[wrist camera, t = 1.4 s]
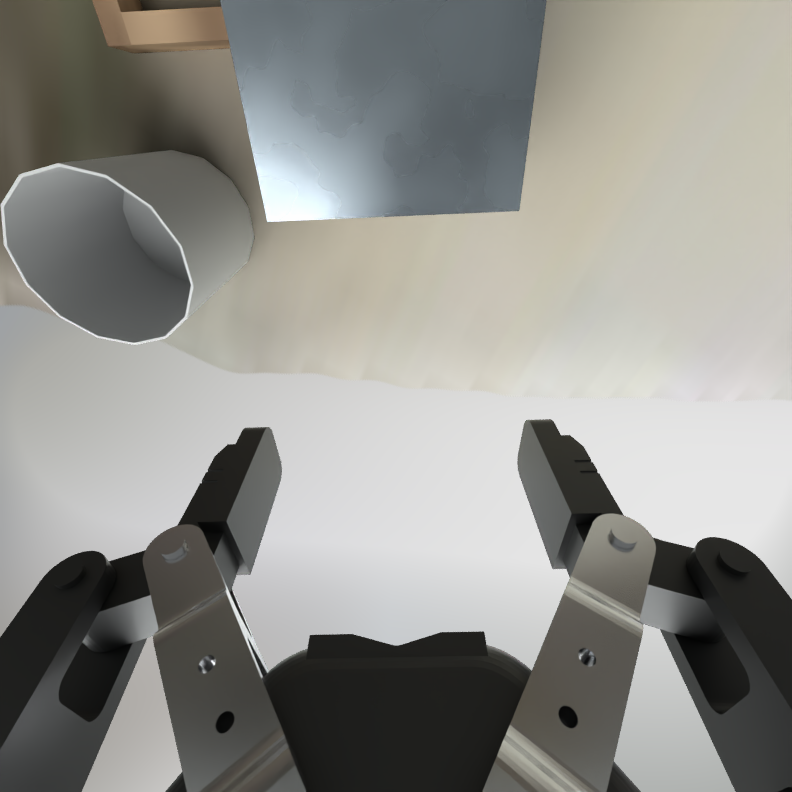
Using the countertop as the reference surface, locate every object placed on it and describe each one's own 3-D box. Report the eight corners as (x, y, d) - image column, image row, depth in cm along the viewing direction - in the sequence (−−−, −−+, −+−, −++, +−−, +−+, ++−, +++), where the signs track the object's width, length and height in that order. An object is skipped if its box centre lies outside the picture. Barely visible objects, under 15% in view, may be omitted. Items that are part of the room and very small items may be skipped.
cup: (109, 230, 27) (-15, 277, 19) (150, 117, 23) (19, 114, 15) (223, 303, 30) (159, 370, 22) (275, 213, 26) (221, 254, 18)
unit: (483, -18, 20) (566, -153, 10) (470, 184, 25) (517, 223, 16) (290, -7, 20) (192, -129, 11) (318, 191, 26) (269, 233, 16)
